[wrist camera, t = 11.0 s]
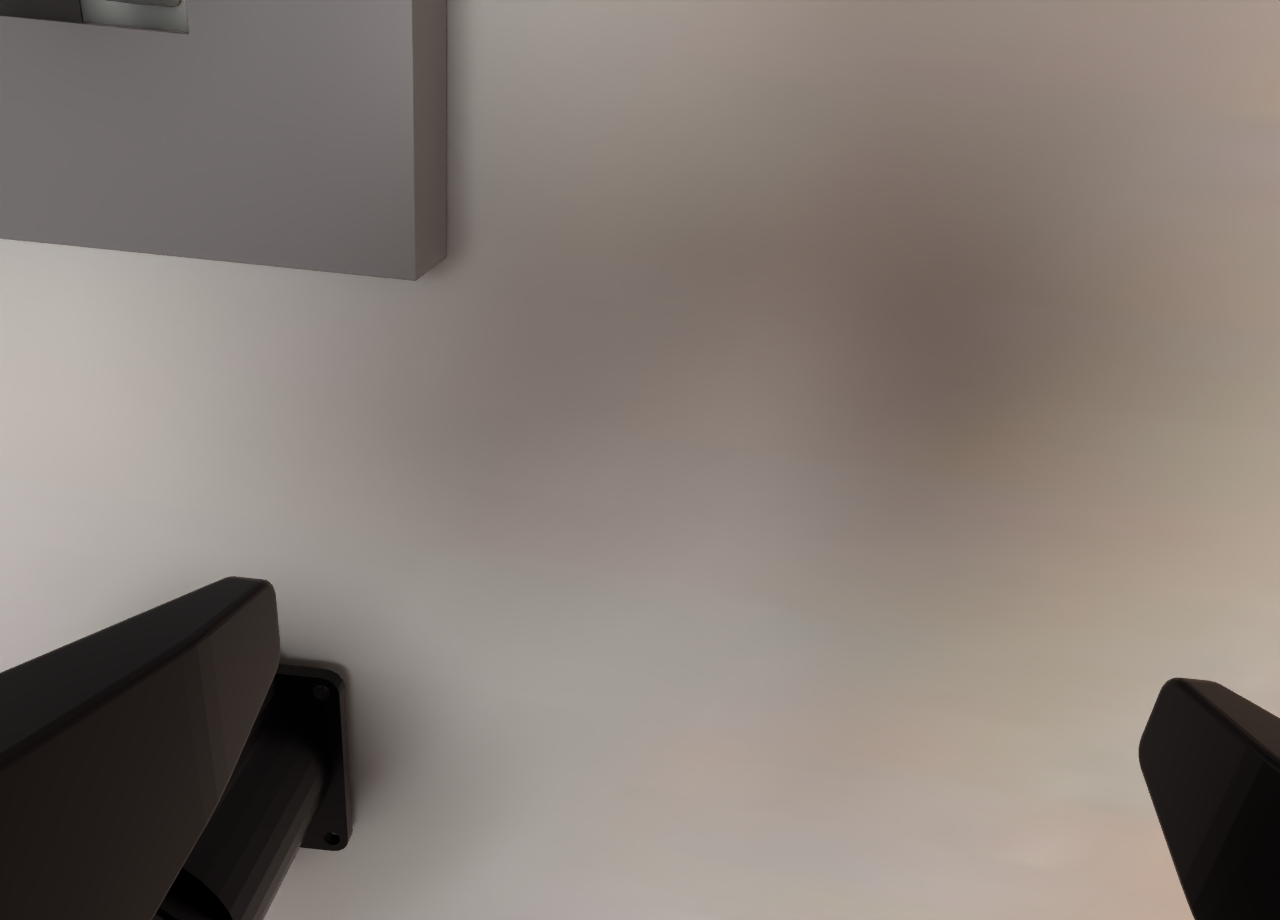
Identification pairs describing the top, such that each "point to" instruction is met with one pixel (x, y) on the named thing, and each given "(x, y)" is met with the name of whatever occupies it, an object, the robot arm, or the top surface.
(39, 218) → the drive dock
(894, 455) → the top surface
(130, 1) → the hard drive
